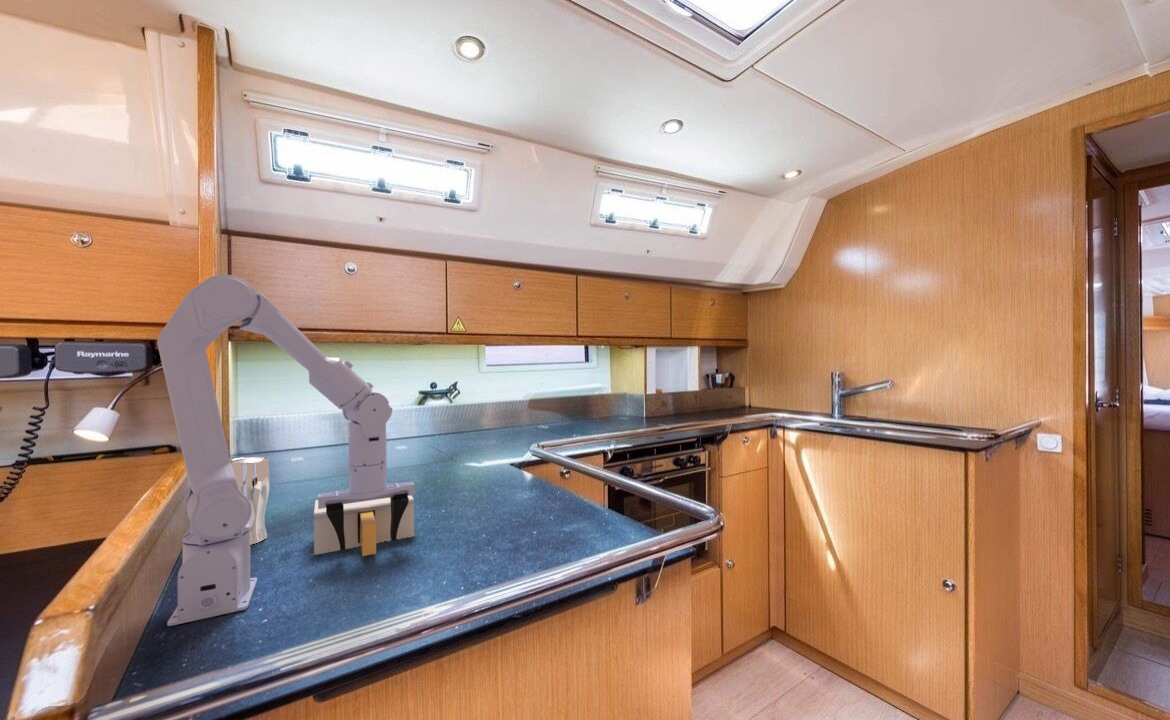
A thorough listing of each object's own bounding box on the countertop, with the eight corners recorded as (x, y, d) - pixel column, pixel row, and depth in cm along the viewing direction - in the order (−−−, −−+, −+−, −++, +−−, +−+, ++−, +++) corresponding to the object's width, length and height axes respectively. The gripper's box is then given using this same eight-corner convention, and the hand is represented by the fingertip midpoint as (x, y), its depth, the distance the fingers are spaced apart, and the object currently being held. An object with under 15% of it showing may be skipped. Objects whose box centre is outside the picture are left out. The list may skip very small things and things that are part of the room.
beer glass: (214, 545, 81) (214, 461, 81) (257, 532, 87) (257, 454, 87) (234, 552, 78) (234, 465, 78) (277, 538, 84) (277, 457, 84)
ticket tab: (376, 553, 74) (376, 522, 74) (362, 556, 73) (362, 525, 73) (370, 527, 86) (369, 501, 86) (358, 529, 85) (358, 502, 85)
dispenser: (414, 537, 83) (414, 499, 84) (313, 556, 76) (313, 514, 76) (407, 522, 92) (406, 487, 92) (315, 537, 84) (315, 500, 84)
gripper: (410, 454, 83) (410, 528, 83) (318, 463, 76) (319, 544, 76) (416, 460, 77) (417, 540, 77) (317, 471, 70) (318, 559, 70)
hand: (368, 543), depth 76 cm, fingers open, 7 cm apart
